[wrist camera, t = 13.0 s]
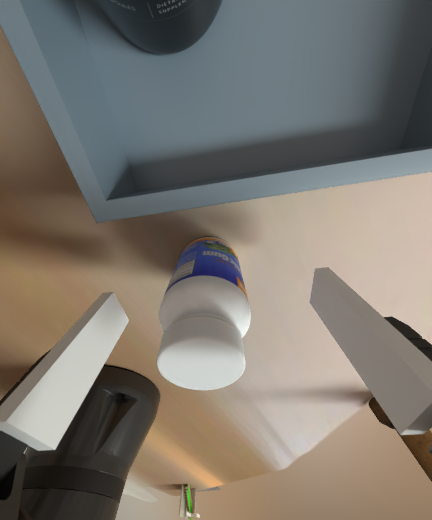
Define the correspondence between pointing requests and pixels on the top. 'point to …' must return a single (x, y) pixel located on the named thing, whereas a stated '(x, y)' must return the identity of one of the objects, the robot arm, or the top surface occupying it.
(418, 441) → the turned wooden pestle
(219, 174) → the tray
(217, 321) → the pill bottle
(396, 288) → the top surface
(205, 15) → the supplement bottle
